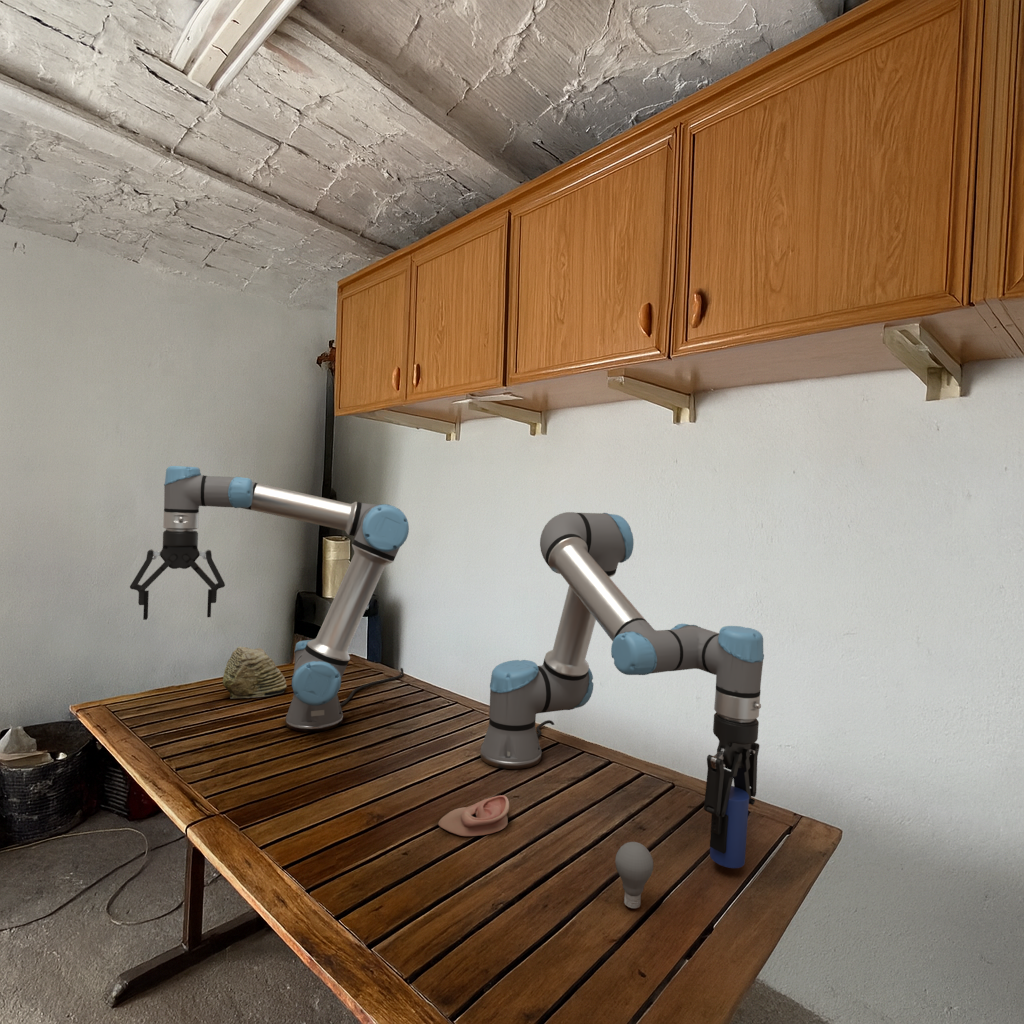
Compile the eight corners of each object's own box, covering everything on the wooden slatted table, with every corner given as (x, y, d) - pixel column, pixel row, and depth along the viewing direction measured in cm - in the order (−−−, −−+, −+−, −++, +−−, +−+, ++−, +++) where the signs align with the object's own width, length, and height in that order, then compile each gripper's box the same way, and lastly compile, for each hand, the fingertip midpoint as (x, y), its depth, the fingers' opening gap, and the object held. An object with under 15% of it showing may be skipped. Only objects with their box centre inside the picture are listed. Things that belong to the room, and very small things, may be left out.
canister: (702, 853, 114) (706, 788, 114) (726, 846, 117) (730, 782, 117) (727, 871, 109) (731, 803, 109) (752, 863, 112) (756, 797, 111)
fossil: (218, 695, 195) (220, 647, 195) (278, 685, 208) (279, 640, 207) (228, 703, 189) (230, 653, 188) (289, 692, 201) (290, 645, 201)
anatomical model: (433, 811, 121) (451, 785, 132) (432, 831, 121) (450, 804, 133) (501, 821, 119) (513, 794, 130) (500, 842, 119) (512, 813, 130)
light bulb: (609, 894, 104) (612, 834, 104) (645, 894, 105) (647, 834, 105) (618, 918, 98) (621, 854, 98) (656, 918, 99) (659, 854, 99)
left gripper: (118, 530, 144) (115, 622, 145) (237, 531, 155) (234, 618, 156) (122, 528, 151) (119, 616, 151) (236, 530, 162) (233, 612, 162)
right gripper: (726, 733, 103) (717, 872, 104) (782, 711, 116) (774, 836, 116) (687, 719, 109) (678, 850, 110) (744, 700, 121) (737, 818, 122)
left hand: (177, 617), depth 154 cm, fingers open, 13 cm apart
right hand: (728, 843), depth 113 cm, fingers closed on canister, 6 cm apart
